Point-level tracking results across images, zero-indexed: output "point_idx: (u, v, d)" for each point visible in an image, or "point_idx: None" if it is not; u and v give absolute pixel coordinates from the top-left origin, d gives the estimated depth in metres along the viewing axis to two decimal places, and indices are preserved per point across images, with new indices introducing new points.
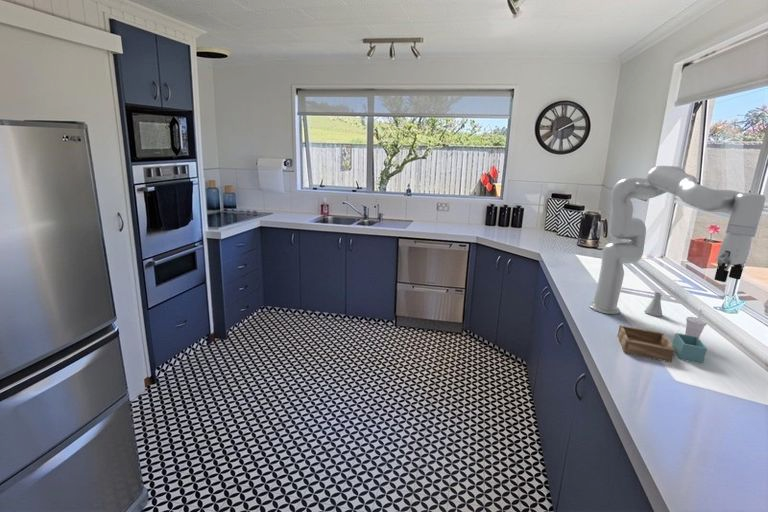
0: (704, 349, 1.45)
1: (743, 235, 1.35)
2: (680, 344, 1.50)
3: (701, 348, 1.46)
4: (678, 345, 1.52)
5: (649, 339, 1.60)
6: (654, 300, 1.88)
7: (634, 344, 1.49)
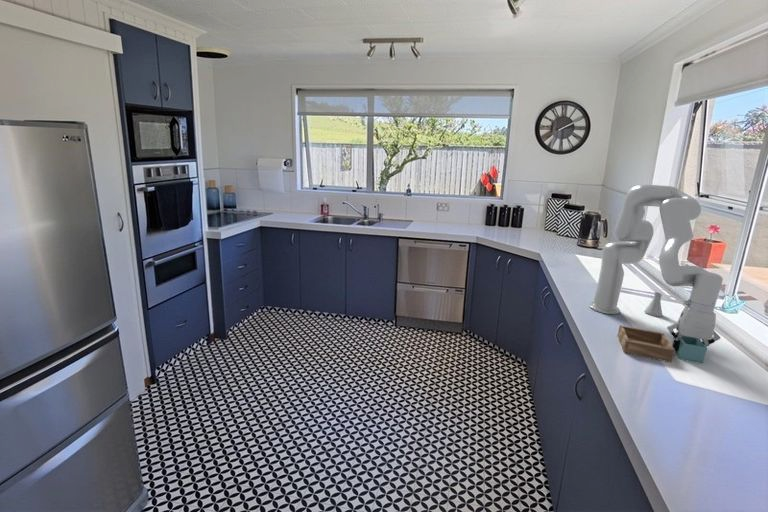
0: (704, 349, 1.45)
1: None
2: (680, 344, 1.50)
3: (701, 348, 1.46)
4: None
5: (649, 339, 1.60)
6: (654, 300, 1.88)
7: (634, 344, 1.49)
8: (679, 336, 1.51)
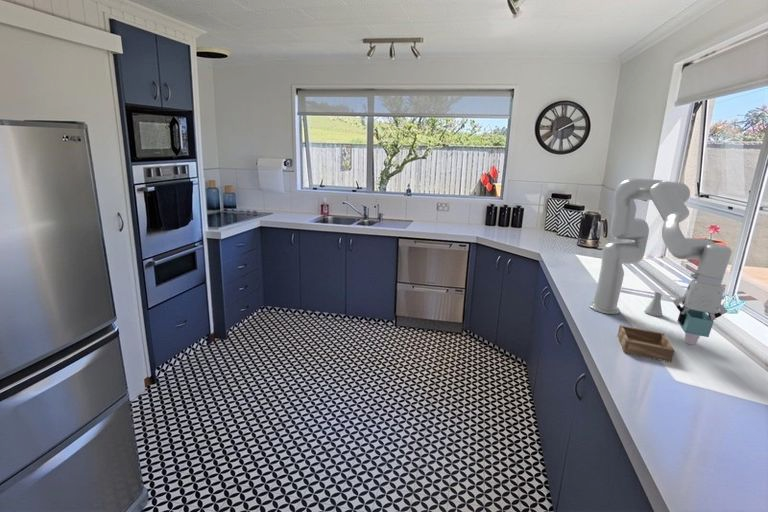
0: (711, 322, 1.43)
1: None
2: (686, 317, 1.48)
3: (708, 321, 1.43)
4: None
5: (649, 339, 1.60)
6: (654, 300, 1.88)
7: (634, 344, 1.49)
8: (685, 310, 1.48)
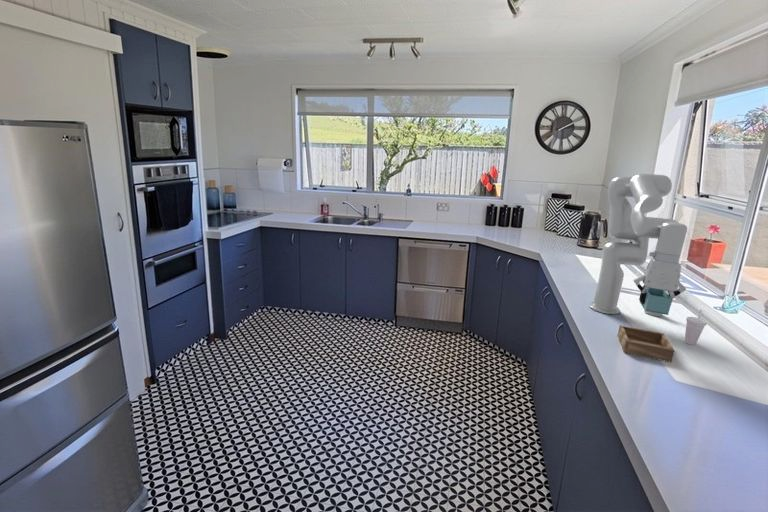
0: (669, 300, 1.44)
1: None
2: (646, 296, 1.49)
3: (666, 299, 1.44)
4: (645, 298, 1.50)
5: (649, 339, 1.60)
6: None
7: (634, 344, 1.49)
8: (645, 288, 1.49)
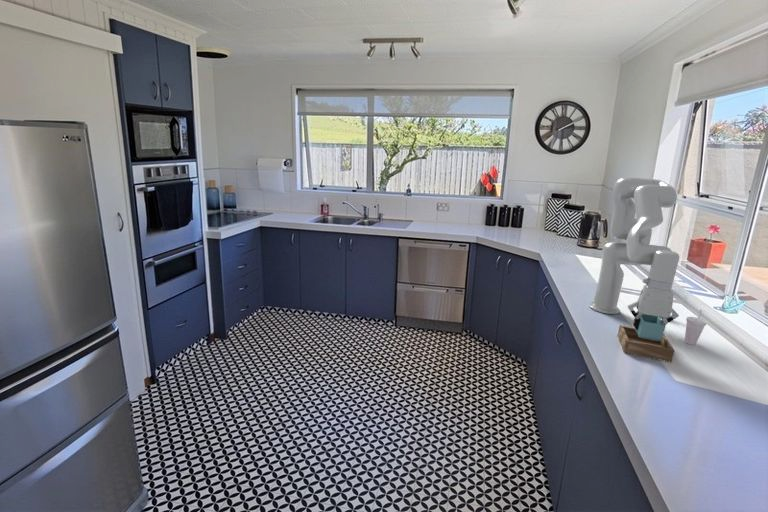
0: (662, 326, 1.46)
1: None
2: (640, 322, 1.51)
3: (660, 325, 1.47)
4: None
5: (649, 339, 1.60)
6: None
7: (634, 344, 1.49)
8: (639, 314, 1.52)
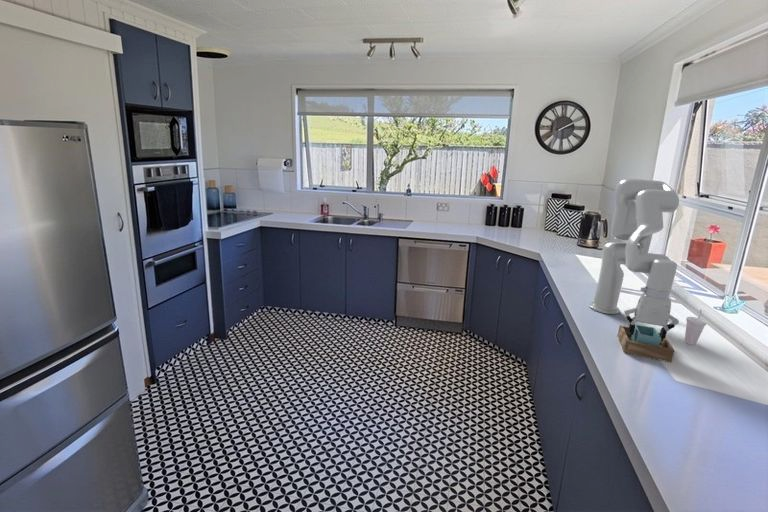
0: (659, 339, 1.48)
1: None
2: (636, 334, 1.53)
3: (656, 338, 1.48)
4: (635, 335, 1.54)
5: None
6: None
7: (634, 344, 1.49)
8: (635, 321, 1.53)
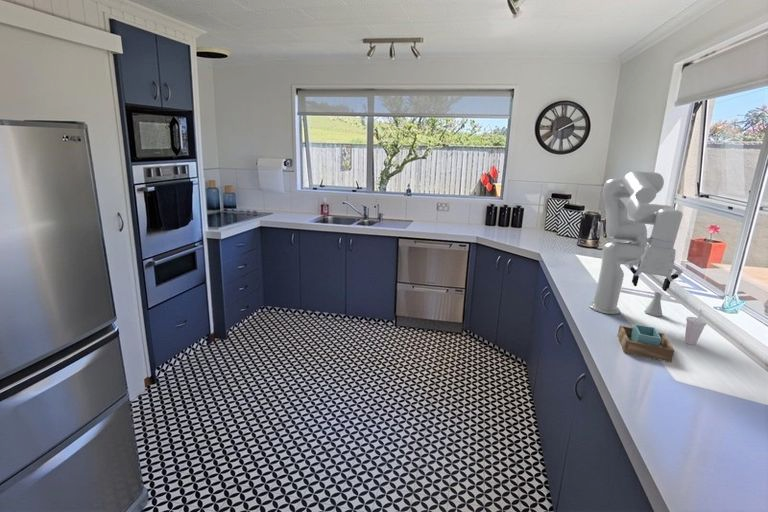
0: (659, 339, 1.48)
1: None
2: (636, 334, 1.53)
3: (656, 338, 1.48)
4: (635, 335, 1.54)
5: None
6: (654, 300, 1.88)
7: (634, 344, 1.49)
8: (638, 272, 1.53)
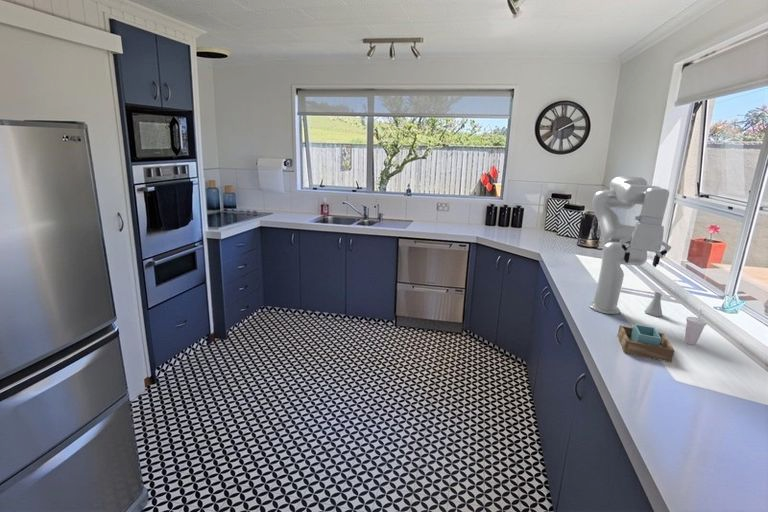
0: (659, 339, 1.48)
1: None
2: (636, 334, 1.53)
3: (656, 338, 1.48)
4: (635, 335, 1.54)
5: None
6: (654, 300, 1.88)
7: (634, 344, 1.49)
8: (629, 248, 1.61)
